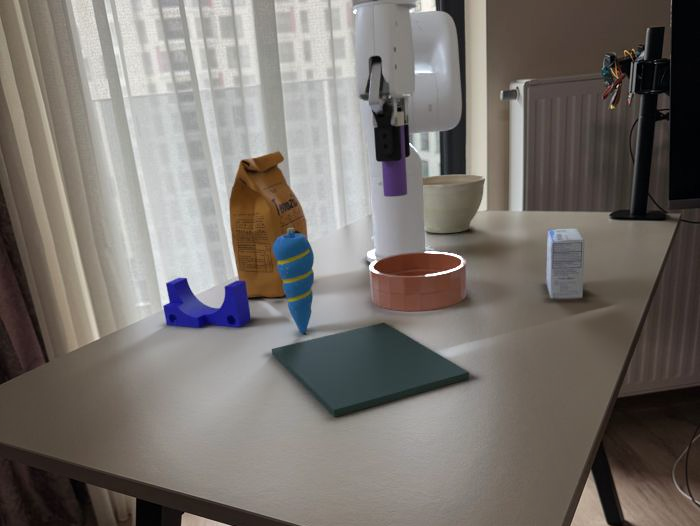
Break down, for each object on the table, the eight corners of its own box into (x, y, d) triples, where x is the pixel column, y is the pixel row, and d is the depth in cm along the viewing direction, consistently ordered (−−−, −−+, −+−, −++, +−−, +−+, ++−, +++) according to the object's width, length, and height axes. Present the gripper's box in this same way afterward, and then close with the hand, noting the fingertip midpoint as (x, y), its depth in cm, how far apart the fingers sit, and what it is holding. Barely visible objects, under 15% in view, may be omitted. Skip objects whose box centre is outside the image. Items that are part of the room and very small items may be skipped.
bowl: (356, 297, 101) (353, 262, 99) (434, 280, 107) (433, 247, 104) (400, 321, 89) (398, 283, 87) (485, 301, 94) (485, 264, 92)
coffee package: (322, 282, 111) (309, 148, 103) (282, 304, 101) (264, 158, 93) (274, 278, 116) (258, 151, 108) (232, 299, 106) (210, 160, 98)
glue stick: (379, 195, 84) (374, 113, 81) (400, 192, 85) (395, 111, 82) (390, 197, 81) (385, 113, 78) (412, 194, 83) (408, 111, 79)
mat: (272, 354, 82) (271, 348, 81) (384, 327, 87) (384, 322, 87) (334, 417, 65) (333, 410, 64) (469, 378, 70) (469, 372, 70)
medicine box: (582, 301, 91) (585, 240, 88) (549, 301, 92) (551, 241, 89) (576, 284, 98) (578, 227, 95) (545, 285, 99) (547, 229, 96)
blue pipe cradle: (166, 324, 96) (159, 286, 94) (185, 315, 100) (178, 277, 98) (233, 330, 91) (227, 290, 89) (251, 320, 95) (245, 281, 93)
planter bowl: (498, 230, 137) (498, 178, 133) (427, 241, 133) (425, 187, 129) (464, 219, 151) (464, 171, 147) (400, 228, 147) (397, 179, 143)
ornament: (292, 342, 85) (278, 229, 79) (278, 332, 89) (263, 224, 84) (327, 334, 87) (316, 222, 82) (312, 324, 91) (300, 217, 86)
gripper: (375, 7, 84) (384, 154, 90) (328, -9, 69) (342, 168, 76) (432, -1, 81) (437, 151, 88) (395, -19, 67) (404, 165, 73)
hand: (393, 157), depth 82 cm, fingers closed on glue stick, 3 cm apart
